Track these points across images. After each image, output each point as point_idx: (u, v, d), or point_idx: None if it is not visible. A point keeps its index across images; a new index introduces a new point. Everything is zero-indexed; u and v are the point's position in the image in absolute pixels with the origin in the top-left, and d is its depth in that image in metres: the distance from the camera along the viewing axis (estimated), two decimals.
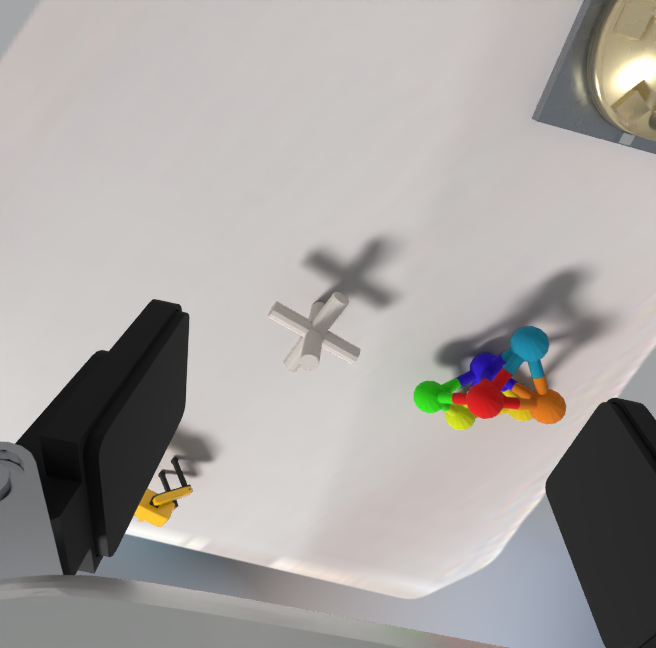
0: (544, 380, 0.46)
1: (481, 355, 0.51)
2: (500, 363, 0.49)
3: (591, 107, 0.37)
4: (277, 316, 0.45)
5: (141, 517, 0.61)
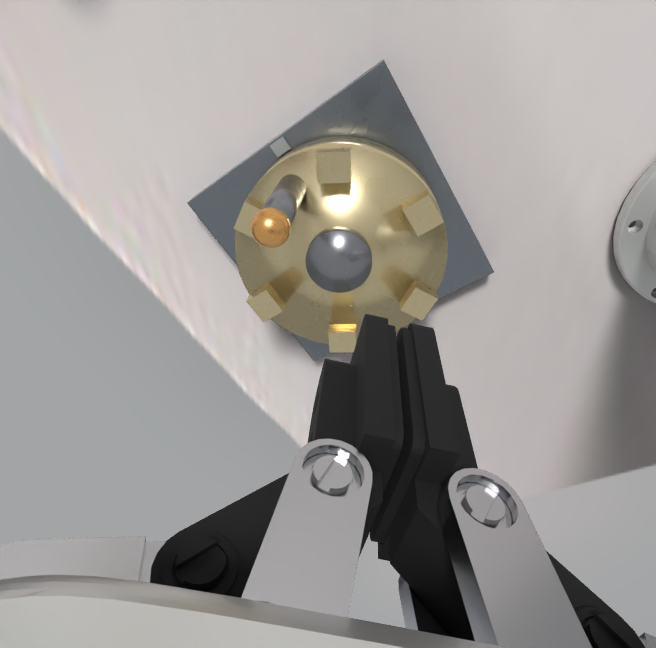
0: None
1: None
2: None
3: (346, 131, 0.27)
4: None
5: None
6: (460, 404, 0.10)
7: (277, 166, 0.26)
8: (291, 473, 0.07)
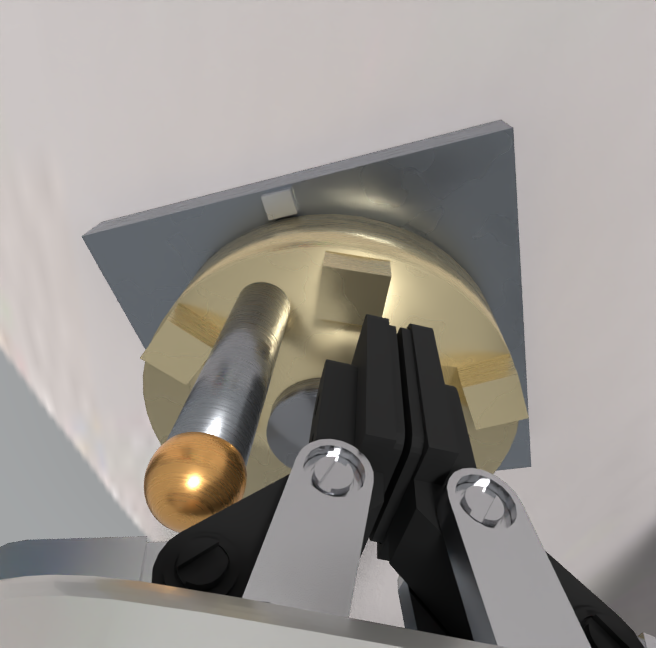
0: None
1: None
2: None
3: (401, 217, 0.15)
4: None
5: None
6: (459, 404, 0.10)
7: (242, 264, 0.13)
8: (292, 473, 0.07)
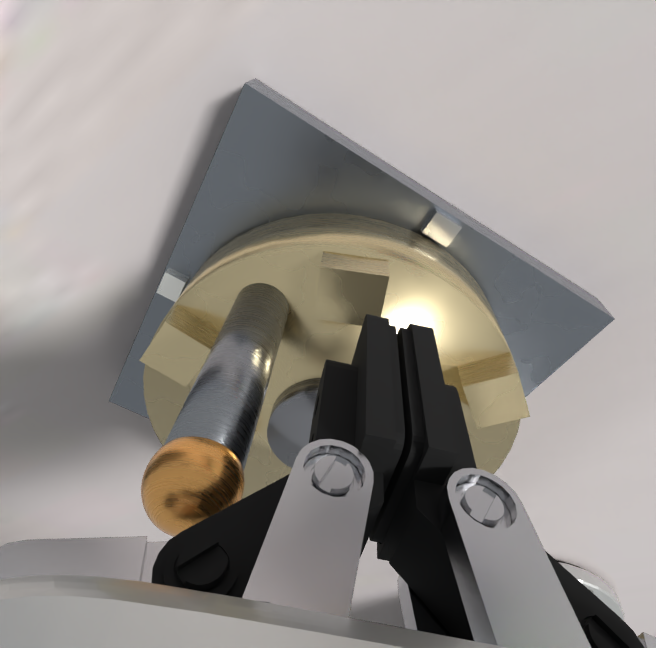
0: None
1: None
2: None
3: (498, 310, 0.17)
4: None
5: None
6: (459, 404, 0.10)
7: (240, 265, 0.13)
8: (292, 473, 0.07)
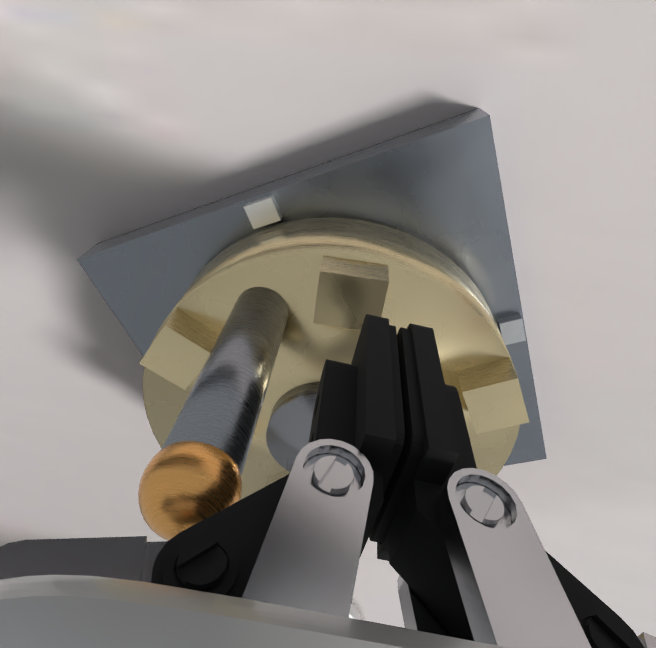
0: None
1: None
2: None
3: None
4: None
5: None
6: (459, 404, 0.10)
7: (240, 269, 0.13)
8: (292, 473, 0.07)
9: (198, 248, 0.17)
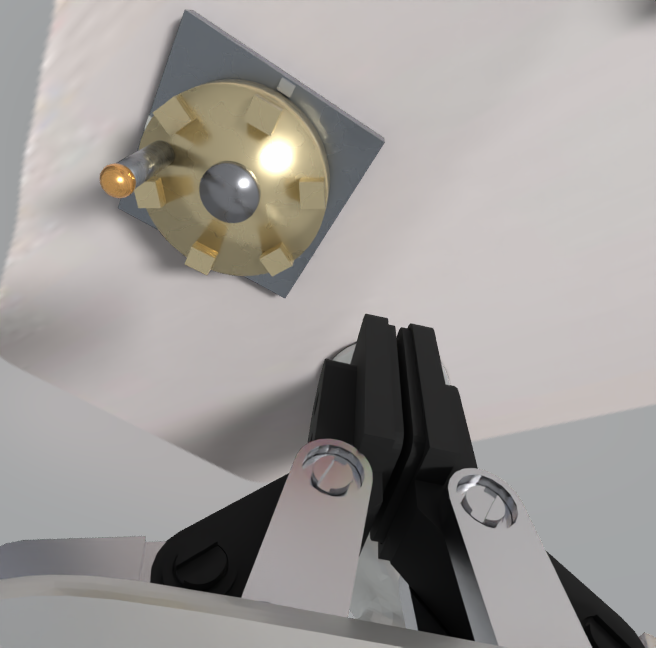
0: None
1: None
2: None
3: (324, 138, 0.32)
4: None
5: None
6: (460, 404, 0.10)
7: (141, 141, 0.30)
8: (291, 473, 0.07)
9: None
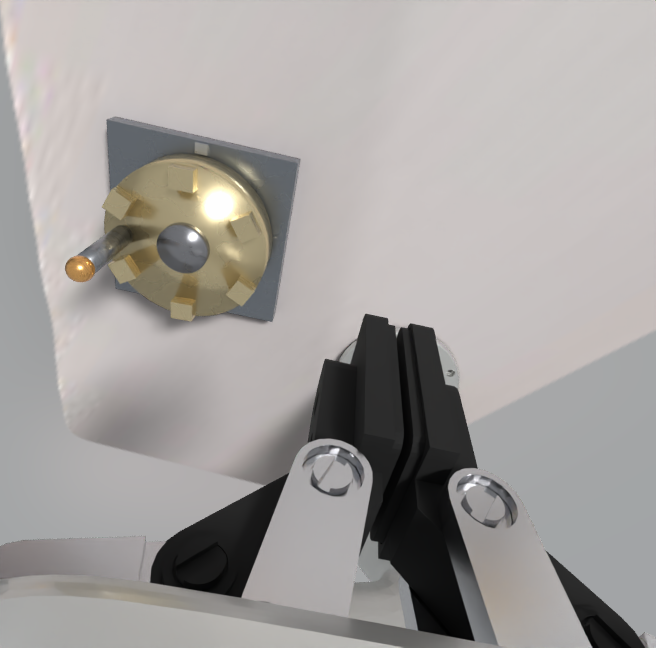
0: None
1: None
2: None
3: (248, 177, 0.37)
4: None
5: None
6: (460, 404, 0.10)
7: (105, 231, 0.37)
8: (291, 473, 0.07)
9: None
